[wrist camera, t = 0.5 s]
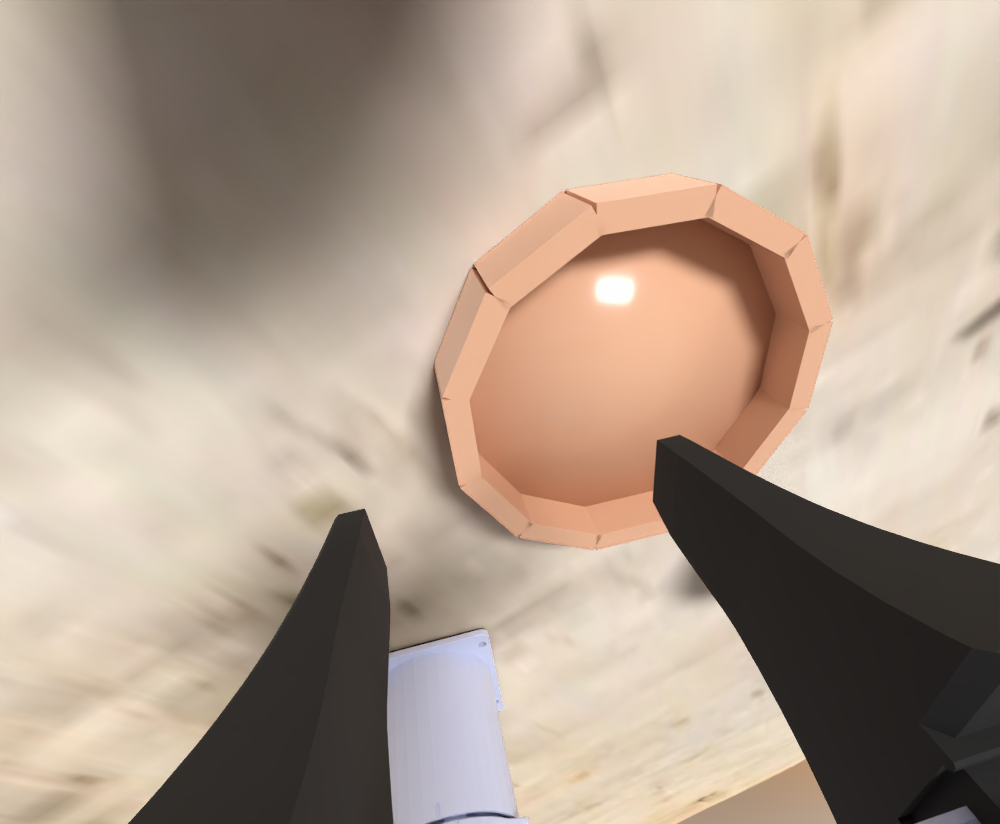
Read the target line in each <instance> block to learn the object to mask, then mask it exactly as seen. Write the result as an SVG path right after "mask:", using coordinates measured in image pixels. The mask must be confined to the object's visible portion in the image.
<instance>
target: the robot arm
mask: <svg viewBox="0 0 1000 824" xmlns="http://www.w3.org/2000/svg"><path fill="white" fill-rule="evenodd" d="M653 503H654V505H655V507H656V509H657V511H658V513H659V515H660V517H661V519H662V521H663V523H664V524H665V526H666V528H667V530H668V532H669V533H670V535H671V537H672V538H673V540H674V541H675V543H676V544H677V546H678V547H679V548H680V550H681V551H682V553H683V554H684V556H685V557H686V558H687V560H688V561H689V563H690V564H691V566H692V567H693V568H694V570H695V571H696V573H697V574H698V575H699V577H700V578H701V580H702V581H703V582H704V584H705V585H706V587H707V588H708V589H709V591H710V592H711V594H712V595H713V596H714V598H715V599H716V601H717V602H718V603H719V605H720V606H721V608H722V609H723V610H724V612H725V613H726V615H727V616H728V618H729V619H730V621H731V622H732V624H733V625H734V627H735V629H736V630H737V632H738V634H739V635H740V637H741V639H742V641H743V642H744V644H745V646H746V647H747V649H748V651H749V653H750V654H751V656H752V658H753V660H754V661H755V663H756V665H757V667H758V668H759V670H760V672H761V674H762V676H763V677H764V679H765V681H766V683H767V685H768V687H769V688H770V690H771V692H772V694H773V696H774V698H775V699H776V701H777V703H778V705H779V707H780V709H781V711H782V713H783V714H784V716H785V718H786V720H787V722H788V724H789V726H790V728H791V730H792V732H793V734H794V736H795V738H796V740H797V742H798V744H799V746H800V748H801V750H802V752H803V753H804V755H805V757H806V759H807V761H808V764H809V766H810V768H811V770H812V772H813V774H814V776H815V778H816V780H817V782H818V784H819V786H820V788H821V791H822V793H823V795H824V797H825V799H826V801H827V803H828V805H829V807H830V809H831V812H832V814H833V816H834V818H835V820H836V822H837V824H1000V564H998V563H993V562H990V561H986V560H982V559H978V558H975V557H971V556H967V555H963V554H960V553H956V552H952V551H949V550H945V549H942V548H938V547H935V546H932V545H928V544H925V543H922V542H918V541H915V540H912V539H909V538H906V537H903V536H900V535H897V534H894V533H891V532H888V531H885V530H882V529H879V528H876V527H874V526H871V525H868V524H865V523H862V522H860V521H857V520H855V519H852V518H850V517H847V516H845V515H842V514H839V513H837V512H834V511H832V510H829V509H827V508H824V507H822V506H820V505H817V504H815V503H813V502H811V501H808V500H806V499H804V498H802V497H800V496H798V495H795V494H793V493H791V492H789V491H787V490H785V489H782V488H780V487H778V486H776V485H774V484H772V483H770V482H768V481H766V480H764V479H762V478H760V477H758V476H756V475H754V474H753V473H751V472H749V471H747V470H745V469H743V468H741V467H739V466H737V465H736V464H734V463H732V462H730V461H728V460H726V459H724V458H723V457H721V456H719V455H717V454H715V453H713V452H712V451H710V450H708V449H706V448H704V447H702V446H701V445H699V444H697V443H695V442H693V441H691V440H689V439H687V438H685V437H683V436H681V435H677V436H672V437H668V438H664V439H660V440H657V444H656V458H655V473H654V487H653ZM389 635H390V600H389V588H388V577H387V567H386V565H385V562H384V559H383V556H382V554H381V551H380V548H379V546H378V543H377V540H376V538H375V535H374V532H373V530H372V527H371V524H370V521H369V519H368V516H367V513H366V511H365V509H361V510H357V511H352V512H348V513H344V514H340V515H338V516H337V517H336V519H335V520H334V522H333V525H332V527H331V529H330V531H329V534H328V536H327V538H326V540H325V543H324V545H323V547H322V549H321V551H320V553H319V555H318V557H317V559H316V561H315V564H314V566H313V568H312V570H311V571H310V573H309V575H308V577H307V579H306V581H305V583H304V585H303V587H302V589H301V591H300V593H299V595H298V596H297V598H296V600H295V602H294V604H293V605H292V607H291V609H290V611H289V612H288V614H287V616H286V617H285V619H284V621H283V623H282V624H281V626H280V628H279V629H278V631H277V633H276V635H275V636H274V638H273V639H272V641H271V643H270V644H269V646H268V647H267V649H266V650H265V652H264V654H263V655H262V657H261V658H260V660H259V661H258V663H257V664H256V666H255V667H254V669H253V670H252V671H251V673H250V674H249V676H248V677H247V679H246V680H245V682H244V683H243V685H242V686H241V687H240V689H239V690H238V691H237V693H236V694H235V695H234V697H233V698H232V700H231V701H230V702H229V704H228V705H227V706H226V708H225V709H224V710H223V712H222V713H221V714H220V716H219V717H218V718H217V720H216V721H215V722H214V724H213V725H212V726H211V727H210V729H209V730H208V731H207V733H206V734H205V735H204V736H203V738H202V739H201V740H200V741H199V743H198V744H197V745H196V746H195V747H194V749H193V750H192V751H191V752H190V753H189V755H188V756H187V757H186V758H185V759H184V760H183V762H182V763H181V764H180V765H179V766H178V767H177V769H176V770H175V771H174V772H173V773H172V775H171V776H170V777H169V778H168V779H167V780H166V782H165V783H164V784H163V785H162V786H161V788H160V789H159V790H158V791H157V792H156V793H155V794H154V796H153V797H152V798H151V799H150V800H149V801H148V802H147V803H146V805H145V806H144V807H143V808H142V809H141V810H140V811H139V812H138V813H137V814H136V816H135V817H134V818H133V819H132V820H131V821H130V822H129V823H128V824H529V819H528V817H522V818H519V815H518V810H517V805H516V800H515V795H514V790H513V785H512V780H511V775H510V770H509V765H508V760H507V755H506V750H505V745H504V740H503V735H502V730H501V725H500V720H499V715H498V712H500V711H501V710H502V709H503V703H502V698H501V693H500V688H499V683H498V678H497V673H496V668H495V663H494V658H493V654H492V649H491V644H490V639H489V634H488V631H487V630H484V629H480V630H476V631H472V632H468V633H464V634H460V635H457V636H453V637H449V638H445V639H441V640H437V641H434V642H430V643H426V644H422V645H418V646H414V647H411V648H407V649H403V650H399V651H395V652H391V653H389Z"/></svg>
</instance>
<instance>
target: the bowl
mask: <svg viewBox="0 0 1000 824" xmlns="http://www.w3.org/2000/svg"><path fill="white" fill-rule="evenodd" d="M804 234H805V232H804V231H802V230H800V229H798V228H797V227H795V226H793V225H791V224H790V223H788V222H786V221H784V220H783V219H781V218H779V217H777V216H776V215H774V214H772V213H770V212H769V211H767V210H765V209H763V208H762V207H760V206H758V205H757V204H755V203H753V202H751V201H750V200H748V199H746V198H744V197H743V196H741V195H739V194H737V193H736V192H734V191H732V190H730V189H729V188H727V187H725V186H723V185H721V184H717V183H712V182H708V181H703V180H699V179H694V178H690V177H685V176H681V175H676V174H665V175H658V176H652V177H645V178H639V179H633V180H626V181H620V182H613V183H607V184H600V185H594V186H587V187H581V188H574V189H568V190H566V194H565V193H563V192H561V193H559V194H558V195H557V196H556V197H555V198H553V199H552V200H551V201H550V202H549V203H547V204H546V205H545V206H544V207H542V208H541V209H540V210H539V211H538V212H536V213H535V214H534V215H533V216H532V217H530V218H529V219H528V220H527V221H525V222H524V223H523V224H522V225H521V226H519V227H518V228H517V229H516V230H515V231H513V232H512V233H511V234H510V235H509V236H507V237H506V238H505V239H504V240H502V241H501V242H500V243H499V244H498V245H496V246H495V247H494V248H493V249H492V250H490V251H489V252H488V253H487V254H485V255H484V256H483V257H482V258H481V259H479V260H478V261H477V262H476V263H475V264H474V266H475V267H476V269H477V270H474V269H472V268H471V269H470V271H469V274H468V276H467V279H466V282H465V284H464V287H463V289H462V292H461V294H460V297H459V299H458V302H457V305H456V307H455V310H454V312H453V315H452V317H451V320H450V322H449V325H448V328H447V330H446V333H445V335H444V338H443V340H442V343H441V345H440V348H439V350H438V353H437V356H436V358H435V361H434V363H435V365H434V369H435V374H436V379H437V384H438V389H439V394H440V399H441V403H442V408H443V413H444V418H445V423H446V428H447V433H448V438H449V443H450V447H451V452H452V457H453V461H454V466H455V470H456V475H457V480H458V484H459V486H460V488H461V490H463V491H464V492H465V493H466V494H467V495H468V496H470V497H471V498H472V499H473V500H474V501H475V502H476V503H478V504H479V505H480V506H481V507H482V508H483V509H485V510H486V511H487V512H488V513H489V514H490V515H492V516H493V517H494V518H495V519H496V520H497V521H498V522H500V523H501V524H502V525H503V526H504V527H505V528H507V529H508V530H509V531H510V532H511V533H512V534H514V535H515V536H516V537H517V536H519V538H521V539H527V540H534V541H540V542H546V543H552V544H558V545H564V546H570V547H576V548H582V549H589V550H593V549H594V548H595V549H596V550H598V549H602V548H606V547H610V546H614V545H618V544H622V543H627V542H631V541H635V540H639V539H643V538H647V537H651V536H655V535H659V534H663V533H667V532H668V530H667V528H666V526H665V524H664V523H663V521H662V519H661V517H660V515H659V513H658V511H657V509H656V507H655V505H654V503H653V487H654V473H655V458H656V444H657V440H660V439H664V438H668V437H672V436H677V435H681V436H683V437H685V438H687V439H689V440H691V441H693V442H695V443H697V444H699V445H701V446H702V447H704V448H706V449H708V450H710V451H712V452H713V453H715V454H717V455H719V456H721V457H723V458H724V459H726V460H728V461H730V462H732V463H734V464H736V465H737V466H739V467H741V468H743V469H745V470H747V471H749V472H751V473H753V474H754V475H756V474H757V473H758V472H759V470H760V469H761V468H762V467H763V465H764V464H765V463H766V462H767V460H768V459H769V458H770V457H771V455H772V454H773V453H774V452H775V450H776V449H777V448H778V447H779V445H780V444H781V443H782V441H783V440H784V439H785V438H786V436H787V435H788V434H789V433H790V431H791V430H792V429H793V428H794V426H795V425H796V424H797V423H798V421H799V420H800V419H801V418H802V416H803V415H804V414H805V413H806V410H805V409H804V408H809V404H810V401H811V397H812V394H813V390H814V387H815V383H816V380H817V376H818V373H819V369H820V366H821V362H822V359H823V355H824V351H825V348H826V344H827V341H828V337H829V334H830V330H831V327H832V323H833V322H831V321H830V320H832V319H833V317H832V314H831V311H830V307H829V304H828V301H827V297H826V294H825V291H824V287H823V284H822V281H821V277H820V274H819V271H818V267H817V264H816V261H815V257H814V254H813V251H812V247H811V244H810V241H809V237H808V236H807V235H804Z"/></svg>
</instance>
